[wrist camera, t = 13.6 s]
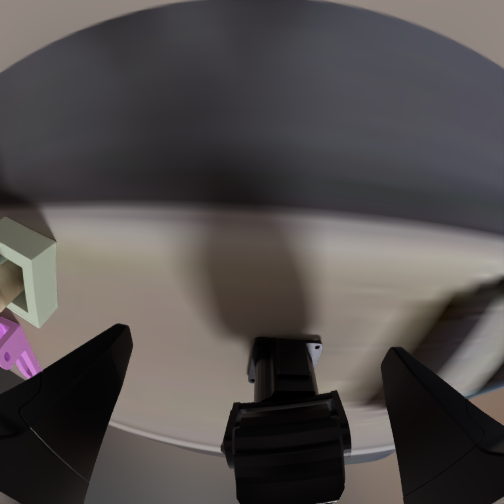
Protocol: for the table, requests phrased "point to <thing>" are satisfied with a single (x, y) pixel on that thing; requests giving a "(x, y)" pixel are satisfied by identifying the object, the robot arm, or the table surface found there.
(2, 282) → the beige cylinder
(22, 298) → the square frame
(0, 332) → the bracket
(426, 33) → the table surface
